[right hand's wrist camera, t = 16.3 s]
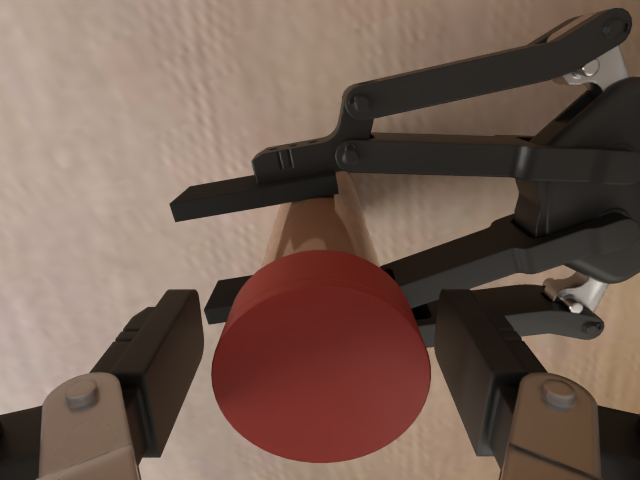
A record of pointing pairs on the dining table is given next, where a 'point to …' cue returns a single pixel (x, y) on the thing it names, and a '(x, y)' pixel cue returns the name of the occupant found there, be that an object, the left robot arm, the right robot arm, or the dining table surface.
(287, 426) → the lid
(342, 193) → the cylinder
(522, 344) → the right robot arm
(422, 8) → the dining table surface
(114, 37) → the dining table surface
